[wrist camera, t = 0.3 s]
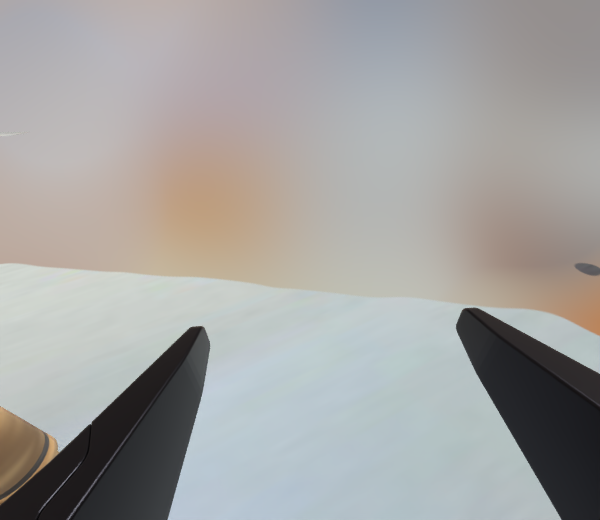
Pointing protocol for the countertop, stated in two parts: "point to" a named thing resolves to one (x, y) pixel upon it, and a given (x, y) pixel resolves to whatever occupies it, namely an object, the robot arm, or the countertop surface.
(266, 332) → the countertop surface
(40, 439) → the oak peg
